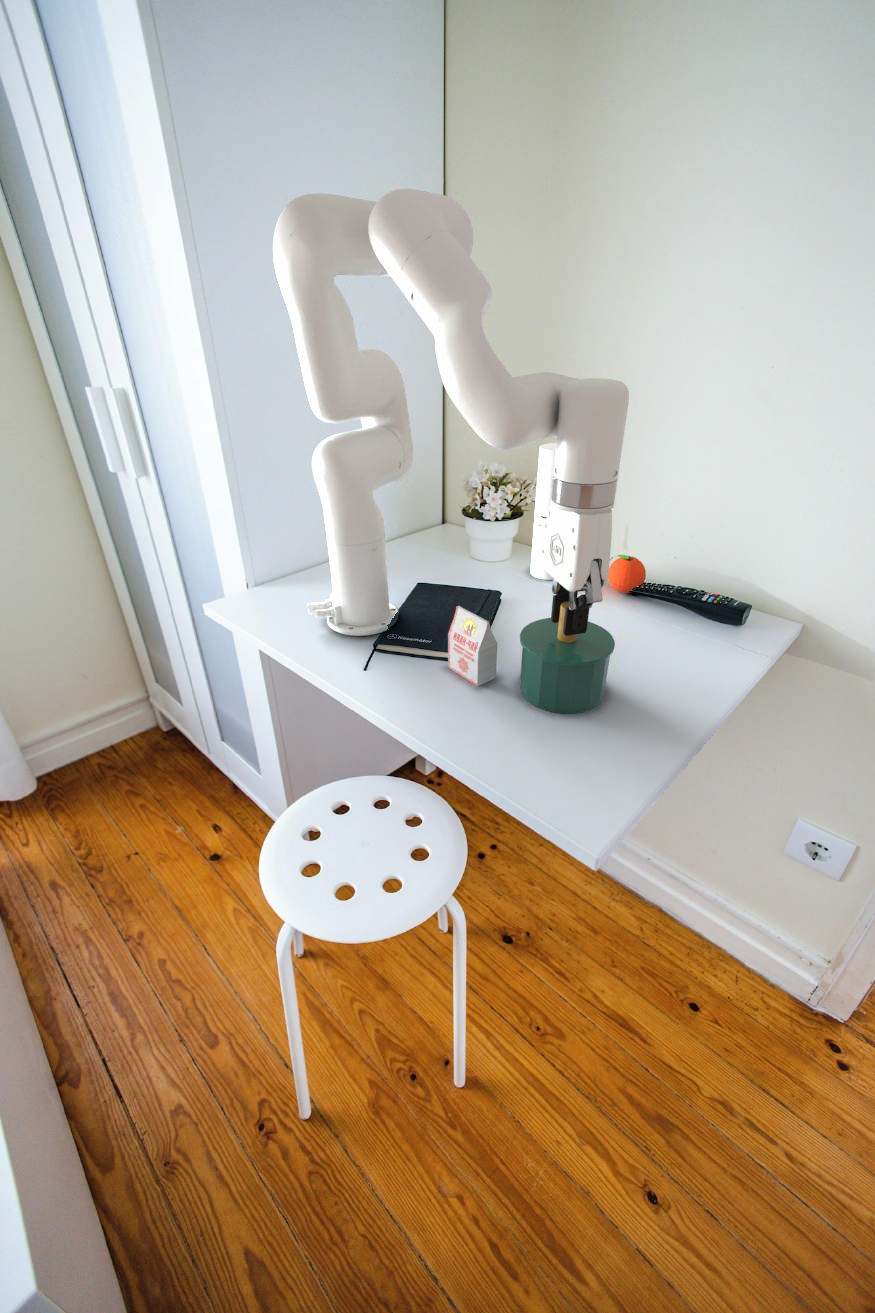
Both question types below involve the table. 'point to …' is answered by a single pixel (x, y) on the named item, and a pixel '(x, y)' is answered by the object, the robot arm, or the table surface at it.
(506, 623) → the table surface
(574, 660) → the tin lid
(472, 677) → the tea bag
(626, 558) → the clementine
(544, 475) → the cylindrical container
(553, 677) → the tin
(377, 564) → the robot arm
